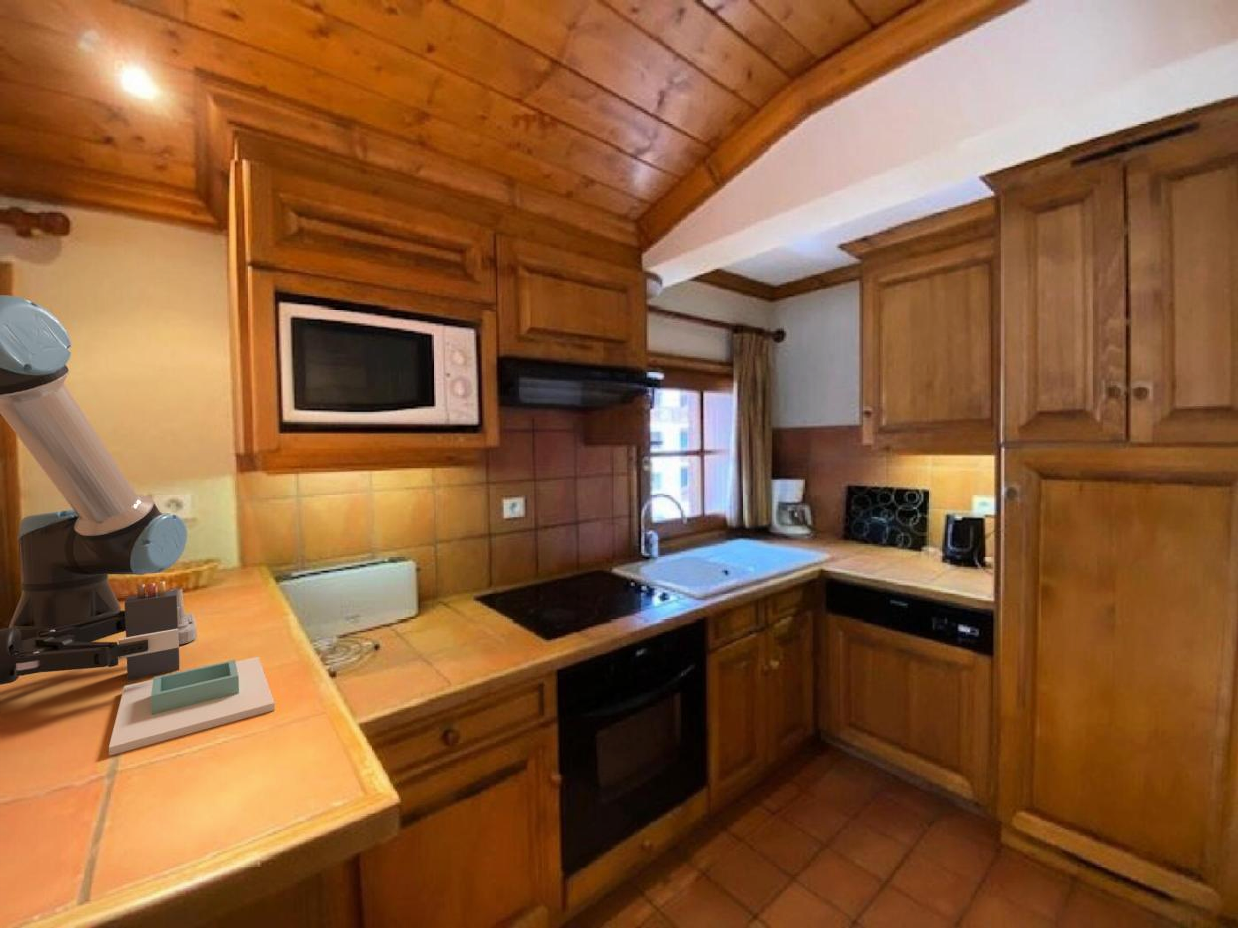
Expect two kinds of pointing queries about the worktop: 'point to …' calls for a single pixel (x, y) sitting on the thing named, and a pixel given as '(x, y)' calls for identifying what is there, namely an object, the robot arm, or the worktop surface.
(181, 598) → the electronic device
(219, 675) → the header board
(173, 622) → the block
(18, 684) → the worktop surface
